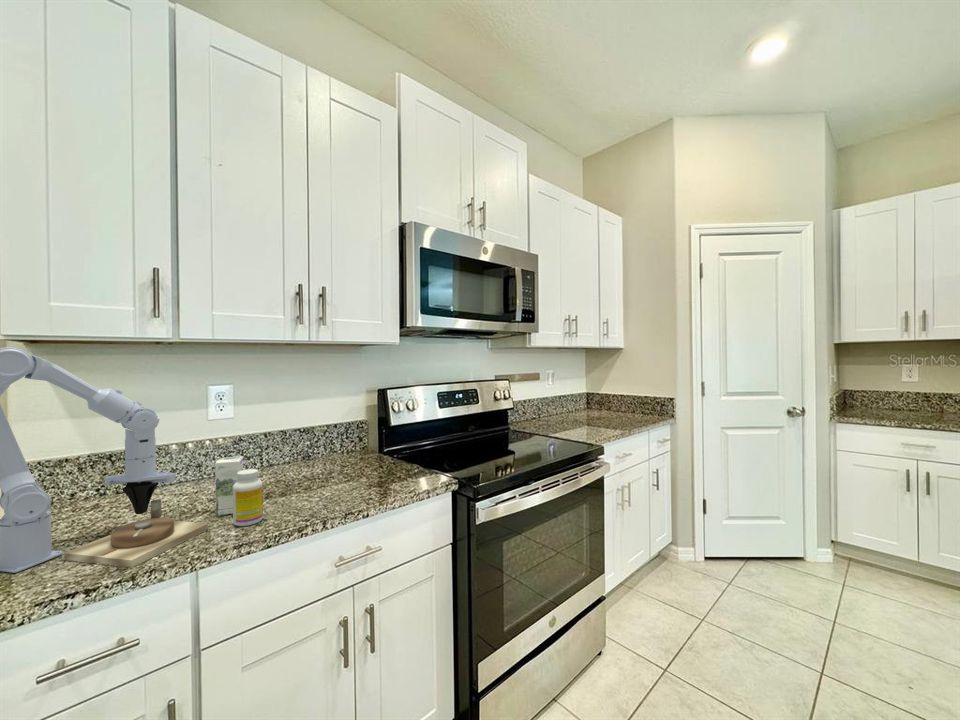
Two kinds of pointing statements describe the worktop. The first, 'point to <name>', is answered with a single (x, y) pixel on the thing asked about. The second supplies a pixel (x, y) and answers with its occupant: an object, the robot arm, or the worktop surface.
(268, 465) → the worktop surface
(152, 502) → the crank dial
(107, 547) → the wooden cutting board
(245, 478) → the supplement bottle
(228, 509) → the syrup box
